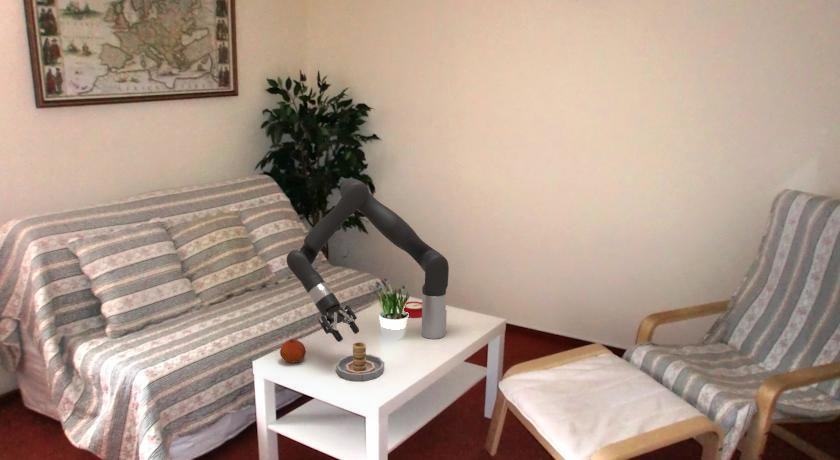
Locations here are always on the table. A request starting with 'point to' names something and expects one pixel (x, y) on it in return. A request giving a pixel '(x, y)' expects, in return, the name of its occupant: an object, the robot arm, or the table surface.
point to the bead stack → (359, 356)
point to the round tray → (372, 371)
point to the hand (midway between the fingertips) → (349, 336)
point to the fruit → (292, 351)
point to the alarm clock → (414, 309)
